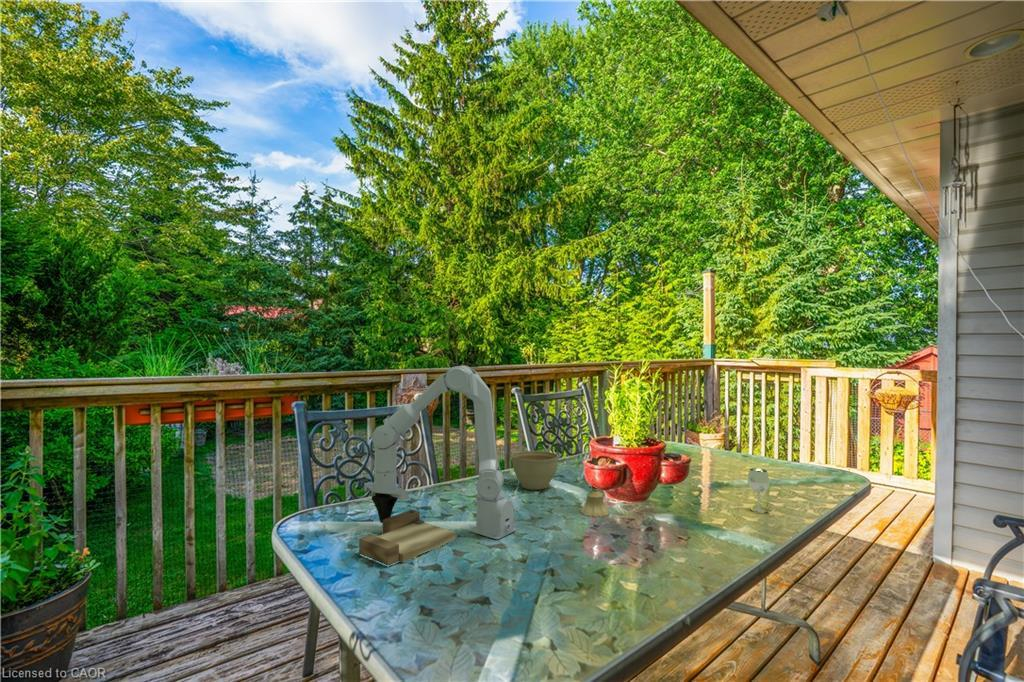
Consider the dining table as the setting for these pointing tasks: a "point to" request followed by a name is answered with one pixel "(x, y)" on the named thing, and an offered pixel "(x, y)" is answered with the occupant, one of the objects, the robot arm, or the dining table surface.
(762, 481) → the wineglass
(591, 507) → the hand bell
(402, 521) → the folding leg
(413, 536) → the stool top
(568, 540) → the dining table surface
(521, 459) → the planter bowl
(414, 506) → the dining table surface
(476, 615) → the dining table surface
